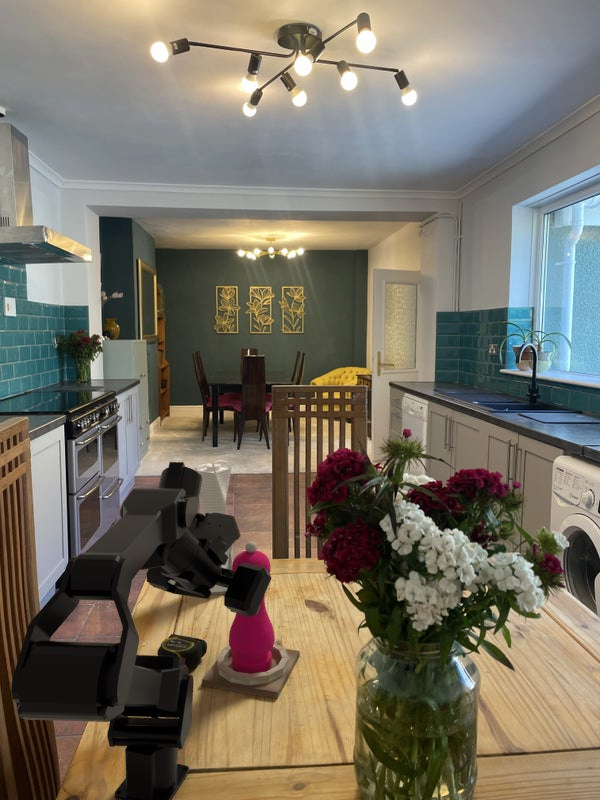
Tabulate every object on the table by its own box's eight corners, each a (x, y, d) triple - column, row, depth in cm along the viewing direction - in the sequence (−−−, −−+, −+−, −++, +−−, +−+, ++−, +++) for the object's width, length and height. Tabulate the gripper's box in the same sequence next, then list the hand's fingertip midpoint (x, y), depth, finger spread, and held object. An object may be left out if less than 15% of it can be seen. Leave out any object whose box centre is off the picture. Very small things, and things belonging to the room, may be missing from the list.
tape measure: (209, 658, 98) (209, 636, 97) (188, 680, 91) (187, 657, 91) (173, 650, 100) (172, 629, 100) (150, 671, 94) (149, 649, 93)
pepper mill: (253, 683, 88) (252, 553, 87) (219, 667, 93) (217, 543, 91) (284, 662, 94) (284, 540, 92) (250, 648, 99) (249, 531, 97)
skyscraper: (238, 595, 121) (237, 460, 118) (198, 599, 119) (196, 462, 117) (233, 579, 130) (232, 452, 127) (195, 582, 128) (193, 454, 125)
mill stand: (277, 698, 86) (277, 684, 86) (201, 685, 90) (201, 671, 89) (299, 656, 98) (299, 643, 98) (231, 646, 101) (231, 634, 101)
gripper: (263, 510, 77) (306, 566, 87) (159, 491, 87) (209, 543, 97) (224, 590, 71) (276, 639, 81) (118, 559, 81) (176, 607, 91)
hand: (233, 602), depth 88 cm, fingers open, 9 cm apart
